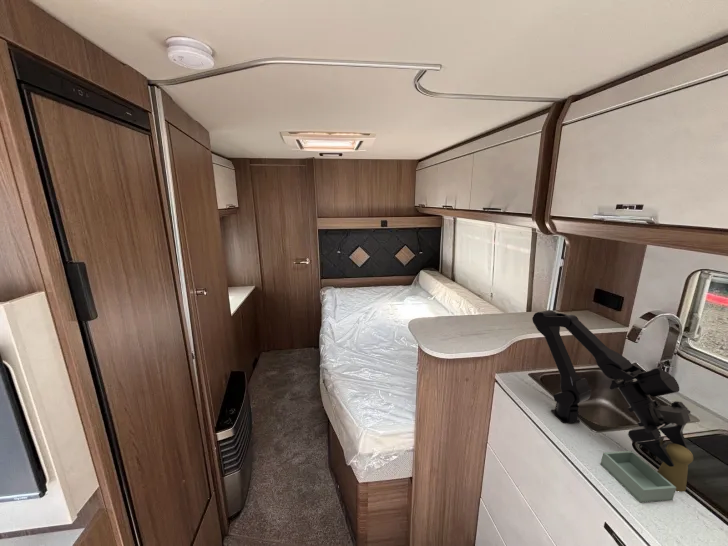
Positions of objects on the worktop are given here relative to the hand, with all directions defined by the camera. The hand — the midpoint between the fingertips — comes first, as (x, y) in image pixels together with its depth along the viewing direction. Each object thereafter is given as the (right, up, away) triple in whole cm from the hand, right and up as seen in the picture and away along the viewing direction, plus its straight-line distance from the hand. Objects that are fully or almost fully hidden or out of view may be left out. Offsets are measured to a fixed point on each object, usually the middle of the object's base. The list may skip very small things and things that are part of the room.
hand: (680, 460), depth 83 cm
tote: (-10, -7, +2) cm, 13 cm away
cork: (0, -7, +2) cm, 8 cm away
